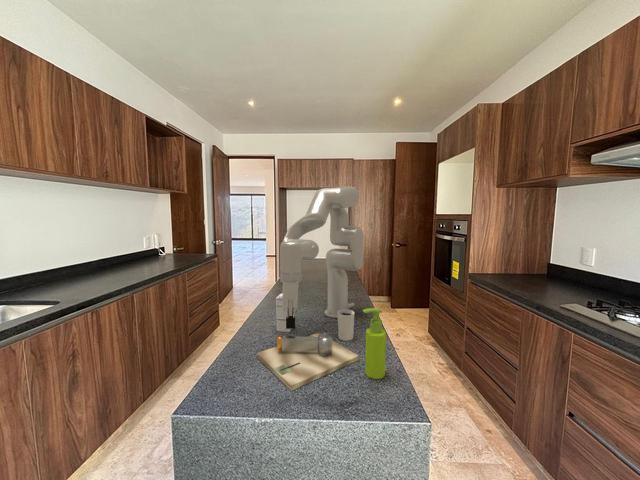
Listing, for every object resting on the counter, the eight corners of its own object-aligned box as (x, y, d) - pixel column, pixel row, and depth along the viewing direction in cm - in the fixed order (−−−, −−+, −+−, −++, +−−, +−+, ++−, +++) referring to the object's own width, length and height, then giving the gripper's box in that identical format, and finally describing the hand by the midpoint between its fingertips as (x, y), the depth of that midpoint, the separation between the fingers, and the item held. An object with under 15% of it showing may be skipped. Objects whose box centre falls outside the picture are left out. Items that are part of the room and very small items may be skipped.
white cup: (335, 339, 104) (335, 314, 103) (339, 332, 110) (340, 308, 109) (352, 342, 102) (352, 316, 101) (356, 334, 108) (356, 310, 107)
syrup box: (289, 332, 110) (289, 297, 109) (276, 331, 111) (275, 296, 110) (294, 326, 116) (293, 293, 115) (280, 325, 117) (280, 292, 116)
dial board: (318, 336, 107) (318, 332, 107) (358, 360, 89) (359, 355, 89) (257, 357, 91) (256, 352, 91) (291, 391, 74) (291, 385, 74)
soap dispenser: (359, 368, 85) (360, 306, 83) (381, 367, 85) (383, 305, 83) (364, 379, 79) (365, 313, 77) (387, 378, 79) (389, 312, 77)
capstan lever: (332, 346, 95) (332, 332, 94) (332, 358, 87) (332, 343, 86) (279, 345, 95) (279, 331, 95) (275, 357, 87) (274, 342, 87)
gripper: (281, 272, 102) (280, 320, 103) (278, 281, 87) (278, 337, 88) (301, 272, 102) (300, 319, 104) (302, 281, 88) (301, 336, 89)
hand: (290, 327), depth 96 cm, fingers closed
